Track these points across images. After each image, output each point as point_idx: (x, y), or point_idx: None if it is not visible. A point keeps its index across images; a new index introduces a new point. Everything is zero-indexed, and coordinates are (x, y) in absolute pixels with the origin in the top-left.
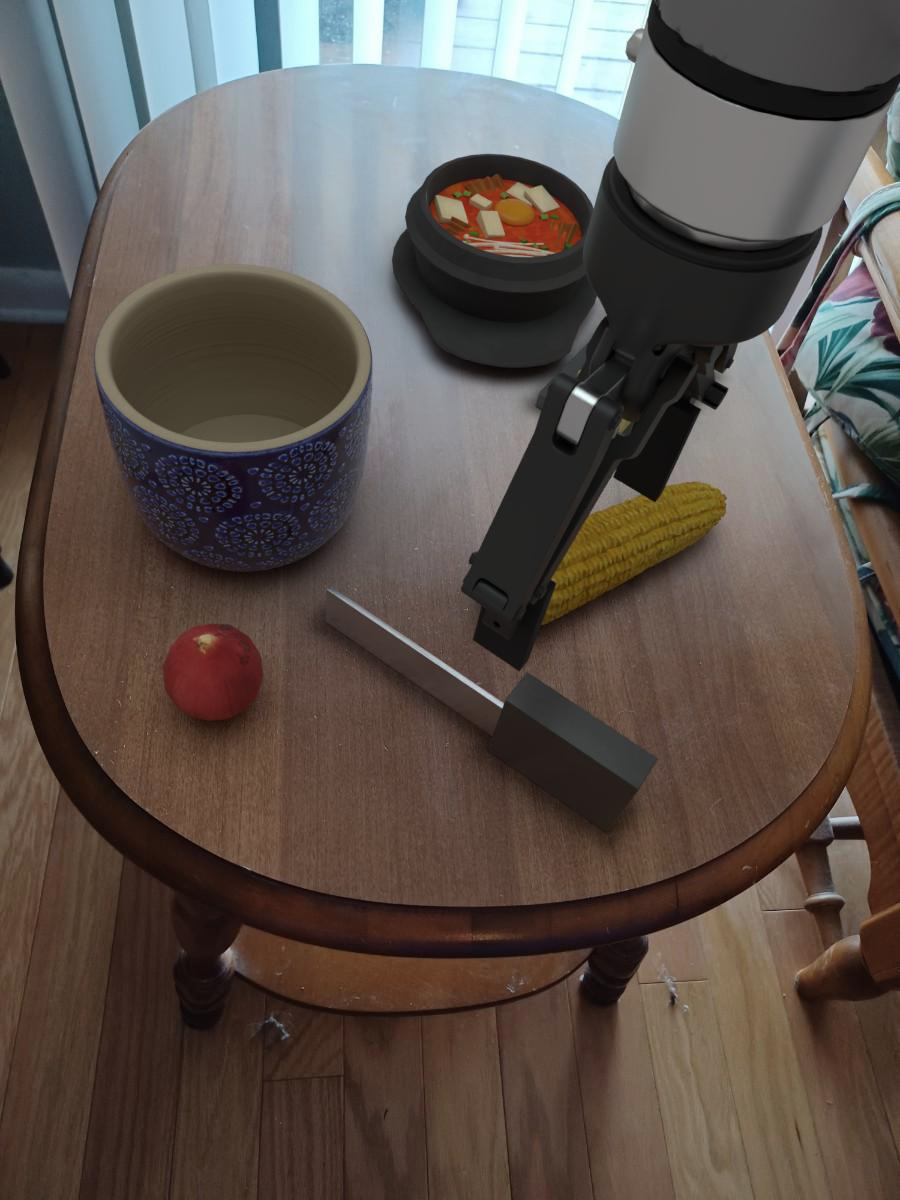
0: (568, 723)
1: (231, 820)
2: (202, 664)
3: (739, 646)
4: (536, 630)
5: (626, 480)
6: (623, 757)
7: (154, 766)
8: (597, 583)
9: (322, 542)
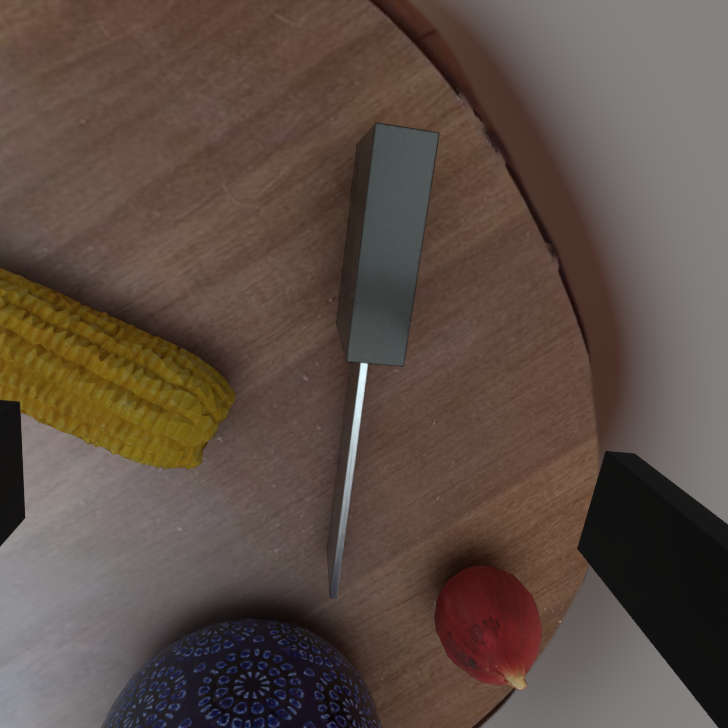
0: (392, 273)
1: (568, 499)
2: (528, 656)
3: (8, 70)
4: (725, 534)
5: (16, 495)
6: (402, 175)
7: (551, 579)
8: (95, 326)
9: (275, 632)
